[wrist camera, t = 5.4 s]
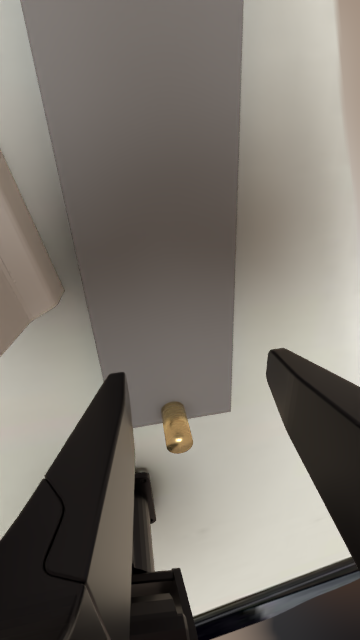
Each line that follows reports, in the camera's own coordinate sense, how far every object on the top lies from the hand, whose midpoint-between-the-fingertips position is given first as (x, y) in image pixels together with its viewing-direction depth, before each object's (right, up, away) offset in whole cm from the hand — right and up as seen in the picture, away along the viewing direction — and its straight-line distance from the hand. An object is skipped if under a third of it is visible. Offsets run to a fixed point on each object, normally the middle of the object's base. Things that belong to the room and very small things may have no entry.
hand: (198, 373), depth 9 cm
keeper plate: (-2, +5, +9) cm, 11 cm away
